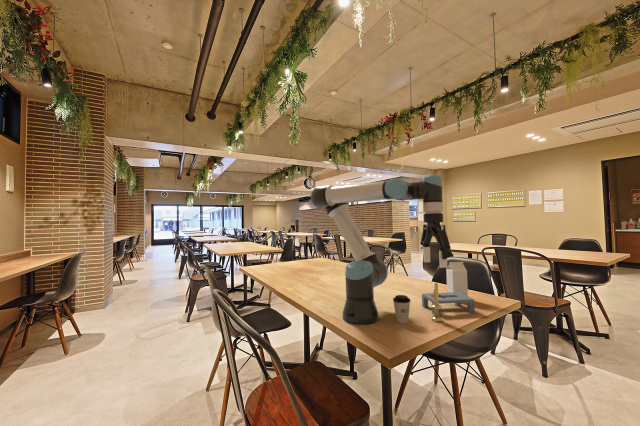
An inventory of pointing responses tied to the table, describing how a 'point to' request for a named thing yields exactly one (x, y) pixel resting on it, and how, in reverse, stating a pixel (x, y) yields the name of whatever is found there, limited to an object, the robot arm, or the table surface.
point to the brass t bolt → (436, 304)
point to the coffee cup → (401, 308)
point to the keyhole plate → (449, 300)
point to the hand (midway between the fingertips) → (434, 264)
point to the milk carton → (457, 278)
